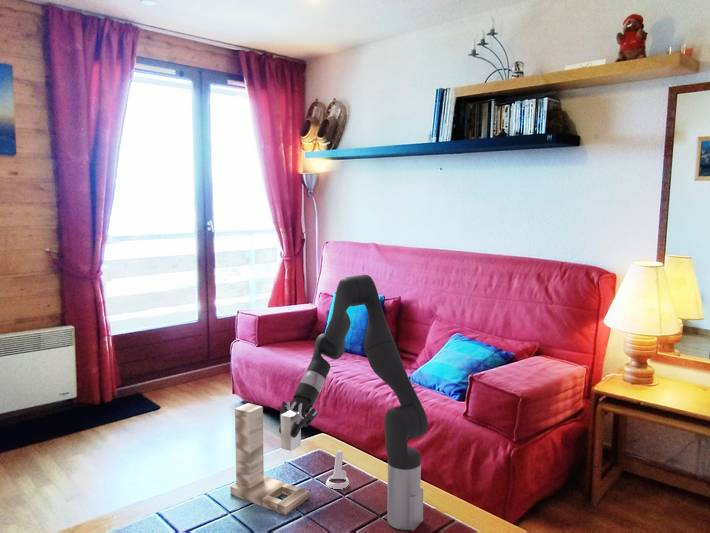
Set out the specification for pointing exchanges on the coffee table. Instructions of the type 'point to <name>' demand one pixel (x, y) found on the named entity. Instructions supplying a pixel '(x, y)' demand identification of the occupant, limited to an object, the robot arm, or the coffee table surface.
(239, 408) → the beam with square loop
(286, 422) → the smooth gray rectangular block
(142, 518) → the coffee table surface
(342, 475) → the white vr controller
